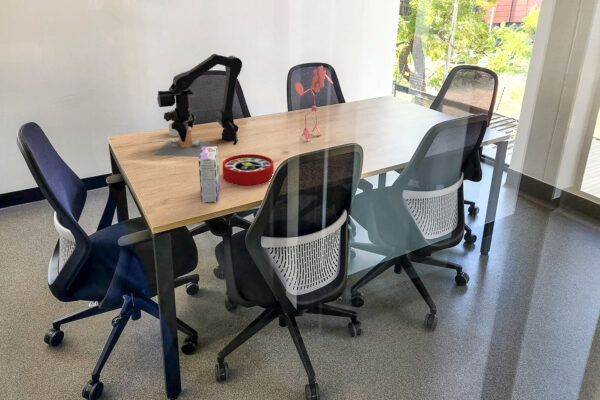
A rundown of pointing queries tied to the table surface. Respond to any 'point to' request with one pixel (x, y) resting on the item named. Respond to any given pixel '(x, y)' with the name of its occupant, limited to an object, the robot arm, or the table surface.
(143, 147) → the table surface
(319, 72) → the figurine
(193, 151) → the stand
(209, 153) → the candy box
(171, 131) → the medicine bottle
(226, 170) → the toy clock
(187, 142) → the tan rounded piece
